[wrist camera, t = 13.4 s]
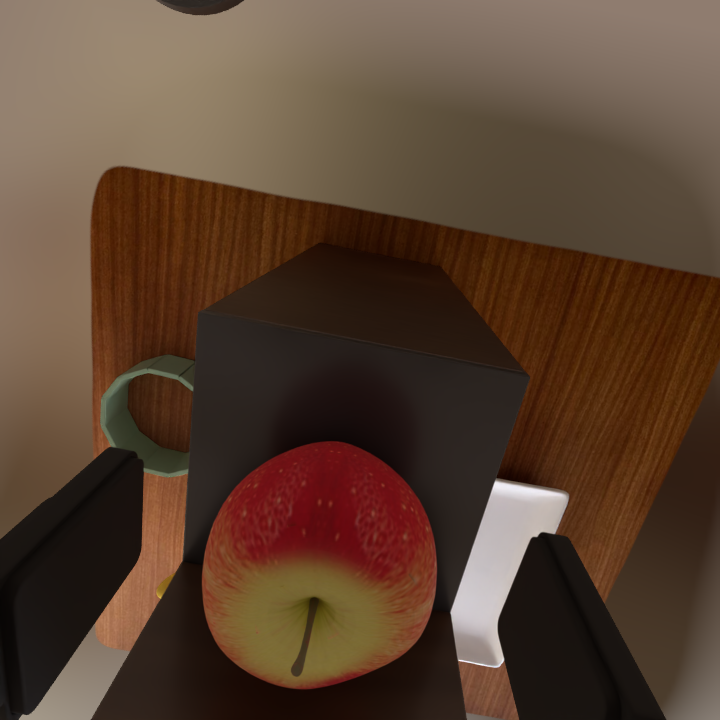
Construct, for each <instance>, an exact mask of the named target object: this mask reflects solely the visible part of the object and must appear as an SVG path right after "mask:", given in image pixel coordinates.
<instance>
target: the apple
mask: <svg viewBox="0 0 720 720" xmlns="http://www.w3.org/2000/svg"><path fill="white" fill-rule="evenodd" d="M436 578H437V559H436V549H435V542H434V537H433V533H432V530H431V526H430V523H429V520H428V517H427V515H426V513H425V510H424V508H423V506H422V504H421V502H420V500H419V499H418V497H417V496H416V495H415V493H414V492H413V490H412V489H411V488H410V486H409V485H408V484H407V483H406V482H405V480H404V479H403V478H402V477H401V476H399V475H398V474H397V473H396V472H395V471H394V470H393V469H392V468H391V467H390V466H388V465H387V464H386V463H385V462H383V461H382V460H380V459H379V458H377V457H376V456H374V455H372V454H371V453H369V452H367V451H365V450H363V449H361V448H359V447H356V446H354V445H351V444H348V443H344V442H338V441H326V442H317V443H311V444H307V445H303V446H300V447H297V448H294V449H292V450H289V451H287V452H284V453H282V454H280V455H278V456H276V457H274V458H272V459H270V460H268V461H267V462H265V463H264V464H262V465H261V466H259V467H258V468H257V469H255V470H254V471H252V472H251V473H250V474H249V475H247V476H246V477H245V478H244V479H243V480H242V481H241V482H240V483H239V484H238V485H237V486H236V487H235V488H234V490H233V491H232V492H231V494H230V495H229V496H228V498H227V499H226V501H225V502H224V503H223V505H222V507H221V509H220V511H219V513H218V515H217V517H216V519H215V521H214V523H213V526H212V529H211V532H210V535H209V538H208V542H207V545H206V550H205V555H204V563H203V571H202V592H203V605H204V611H205V616H206V620H207V623H208V626H209V629H210V631H211V633H212V635H213V637H214V639H215V641H216V643H217V645H218V646H219V648H220V649H221V650H222V651H223V652H224V653H225V655H226V656H227V657H228V658H230V659H231V660H232V661H233V662H234V663H235V664H237V665H238V666H239V667H240V668H242V669H244V670H245V671H247V672H248V673H250V674H252V675H253V676H255V677H257V678H259V679H261V680H264V681H266V682H269V683H272V684H275V685H278V686H282V687H286V688H293V689H314V688H320V687H325V686H330V685H334V684H337V683H341V682H344V681H347V680H350V679H353V678H356V677H358V676H361V675H364V674H366V673H369V672H371V671H373V670H376V669H378V668H380V667H382V666H384V665H386V664H388V663H390V662H392V661H394V660H395V659H397V658H399V657H400V656H402V655H403V654H404V653H406V652H407V651H408V650H409V649H410V648H411V647H412V646H413V645H414V644H415V643H416V642H417V640H418V639H419V638H420V636H421V634H422V633H423V631H424V629H425V627H426V625H427V622H428V620H429V617H430V614H431V611H432V607H433V602H434V598H435V592H436Z"/></svg>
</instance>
